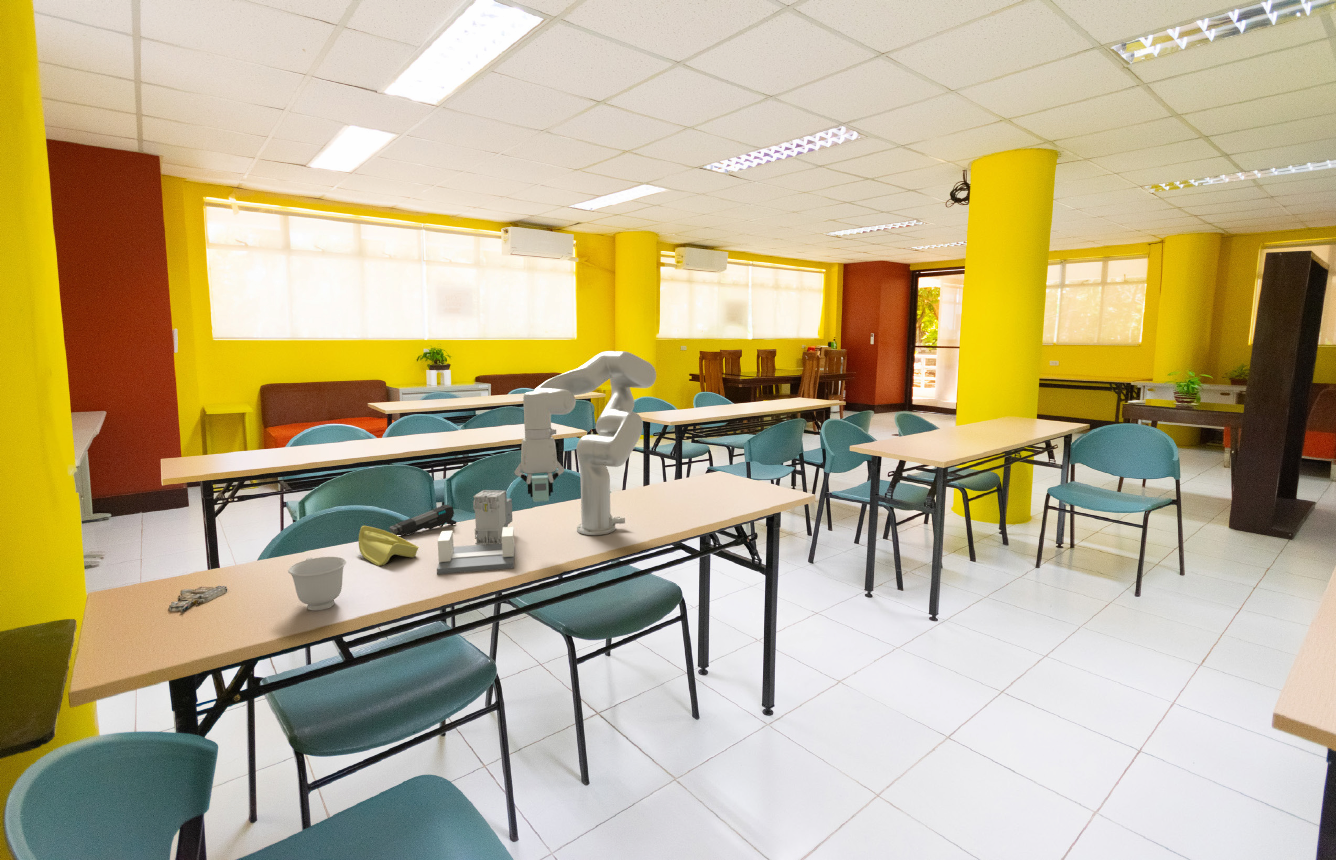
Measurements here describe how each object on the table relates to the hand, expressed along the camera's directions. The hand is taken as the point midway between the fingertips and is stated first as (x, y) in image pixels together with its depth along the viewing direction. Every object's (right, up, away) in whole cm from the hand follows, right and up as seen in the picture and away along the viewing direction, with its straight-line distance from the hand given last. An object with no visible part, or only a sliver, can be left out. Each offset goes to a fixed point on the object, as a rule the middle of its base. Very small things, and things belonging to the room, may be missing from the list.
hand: (540, 494), depth 186 cm
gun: (-43, -14, +22) cm, 50 cm away
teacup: (-46, -23, -34) cm, 62 cm away
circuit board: (-76, -23, -32) cm, 86 cm away
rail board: (-17, -18, -5) cm, 25 cm away
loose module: (0, -1, 0) cm, 1 cm away
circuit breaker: (-17, -15, +16) cm, 28 cm away
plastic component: (-45, -18, 0) cm, 48 cm away
